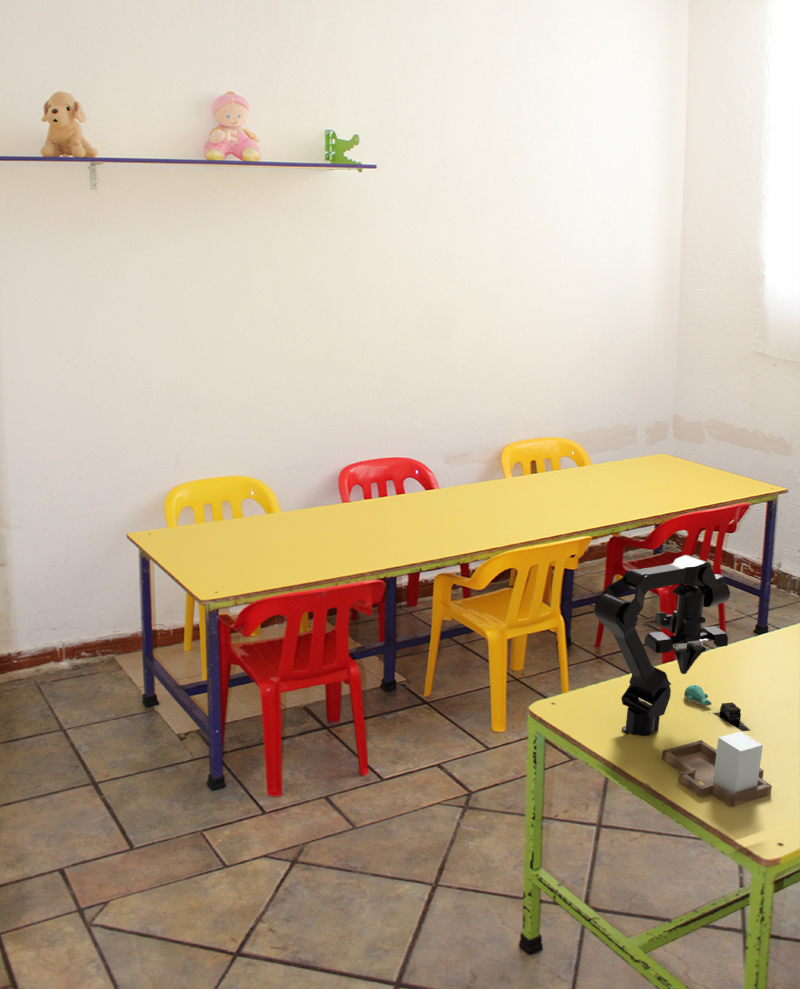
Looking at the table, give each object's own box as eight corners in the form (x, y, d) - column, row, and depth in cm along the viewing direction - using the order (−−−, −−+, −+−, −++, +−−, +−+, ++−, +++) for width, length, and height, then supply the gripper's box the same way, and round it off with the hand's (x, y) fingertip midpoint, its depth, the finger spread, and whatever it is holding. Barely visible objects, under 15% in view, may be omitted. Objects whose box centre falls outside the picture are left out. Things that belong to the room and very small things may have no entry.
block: (712, 785, 201) (718, 737, 199) (734, 779, 204) (740, 731, 201) (734, 800, 196) (740, 751, 193) (756, 793, 199) (762, 745, 196)
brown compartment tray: (650, 766, 210) (651, 753, 209) (709, 750, 218) (711, 737, 217) (718, 816, 193) (720, 801, 192) (780, 796, 200) (782, 782, 200)
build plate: (757, 735, 226) (759, 717, 225) (728, 738, 224) (730, 720, 223) (728, 710, 238) (730, 693, 236) (701, 712, 236) (703, 695, 235)
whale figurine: (698, 694, 245) (699, 680, 244) (716, 707, 238) (718, 693, 237) (678, 697, 243) (679, 683, 242) (696, 710, 236) (698, 696, 235)
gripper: (705, 594, 233) (699, 655, 238) (635, 601, 228) (629, 662, 233) (733, 612, 223) (725, 675, 227) (660, 619, 218) (654, 683, 222)
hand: (683, 673), depth 228 cm, fingers closed
